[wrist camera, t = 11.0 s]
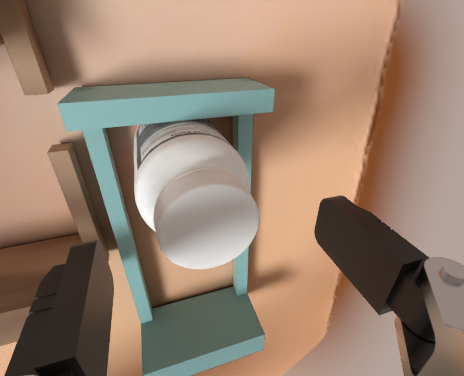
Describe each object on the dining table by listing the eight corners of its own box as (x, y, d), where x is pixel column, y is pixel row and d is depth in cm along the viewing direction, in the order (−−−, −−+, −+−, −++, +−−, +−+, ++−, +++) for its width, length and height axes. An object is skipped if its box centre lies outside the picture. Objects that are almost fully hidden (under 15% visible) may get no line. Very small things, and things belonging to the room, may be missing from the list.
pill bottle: (207, 179, 20) (256, 278, 12) (131, 175, 18) (130, 290, 10) (221, 108, 18) (294, 171, 10) (135, 94, 16) (138, 159, 8)
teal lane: (242, 299, 28) (263, 349, 24) (145, 327, 25) (148, 390, 21) (247, 77, 17) (288, 94, 12) (74, 87, 14) (47, 112, 10)
